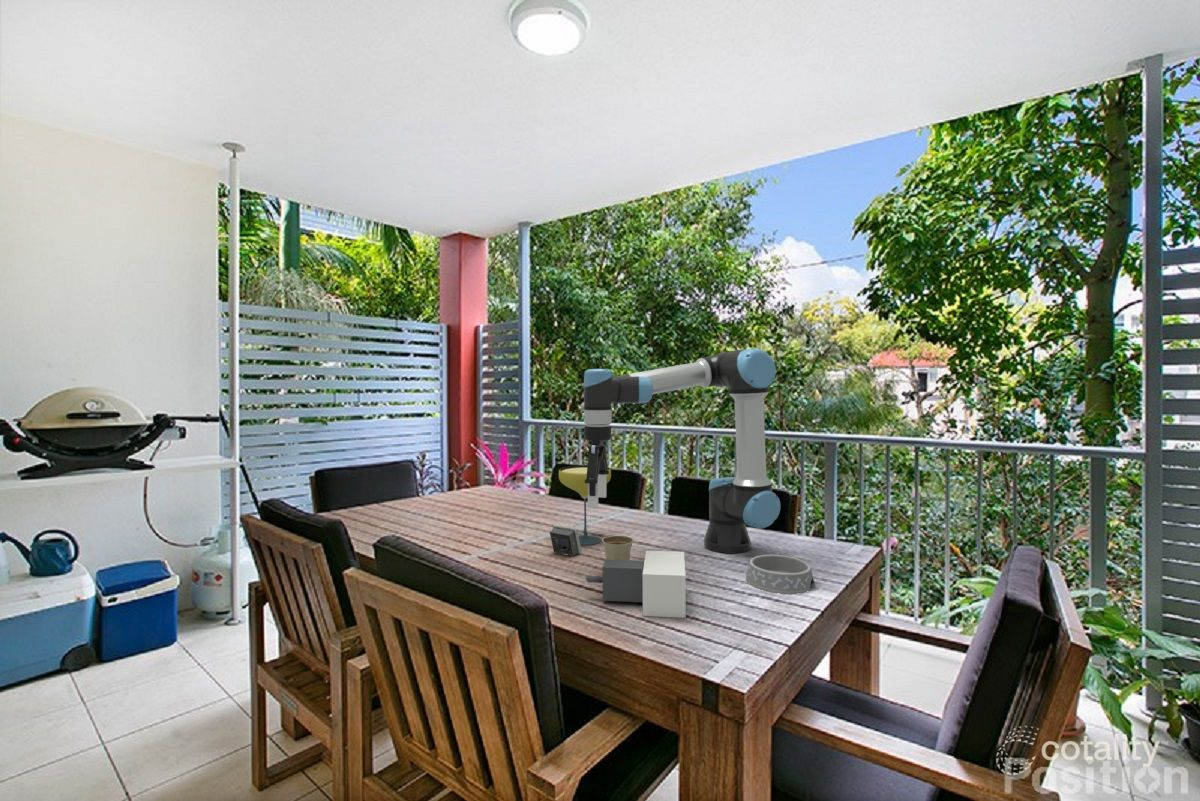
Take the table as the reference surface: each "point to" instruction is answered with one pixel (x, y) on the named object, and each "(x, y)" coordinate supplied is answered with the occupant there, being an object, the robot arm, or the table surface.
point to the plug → (621, 580)
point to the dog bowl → (779, 574)
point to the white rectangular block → (664, 584)
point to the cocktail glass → (576, 481)
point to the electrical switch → (565, 540)
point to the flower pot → (617, 547)
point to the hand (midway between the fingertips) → (597, 502)
